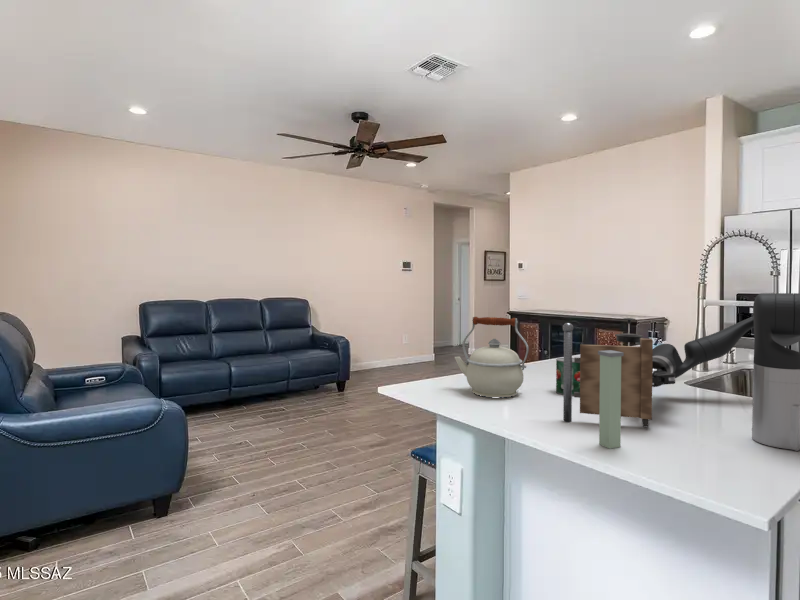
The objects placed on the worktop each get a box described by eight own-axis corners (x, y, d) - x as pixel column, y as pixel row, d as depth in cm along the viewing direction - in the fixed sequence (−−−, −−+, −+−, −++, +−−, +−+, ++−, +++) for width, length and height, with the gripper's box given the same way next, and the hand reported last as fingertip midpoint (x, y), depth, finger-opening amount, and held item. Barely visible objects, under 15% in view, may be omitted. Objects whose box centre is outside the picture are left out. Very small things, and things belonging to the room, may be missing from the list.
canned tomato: (552, 390, 152) (553, 357, 151) (576, 390, 151) (576, 357, 151) (560, 396, 144) (560, 361, 143) (585, 396, 143) (585, 361, 143)
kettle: (535, 391, 150) (535, 316, 149) (519, 404, 135) (519, 320, 134) (464, 383, 163) (464, 314, 162) (443, 394, 147) (442, 317, 146)
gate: (574, 421, 116) (574, 337, 115) (573, 418, 118) (574, 336, 118) (651, 428, 110) (652, 339, 109) (649, 425, 112) (650, 338, 112)
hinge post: (575, 421, 117) (575, 322, 116) (567, 422, 116) (568, 323, 115) (567, 418, 120) (567, 322, 119) (560, 420, 118) (560, 322, 117)
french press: (606, 379, 167) (607, 317, 167) (627, 377, 170) (627, 316, 170) (632, 386, 156) (633, 319, 155) (653, 384, 159) (654, 319, 158)
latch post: (597, 443, 101) (597, 350, 100) (610, 441, 102) (611, 350, 101) (609, 449, 97) (610, 353, 97) (622, 447, 99) (623, 352, 98)
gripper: (683, 386, 122) (670, 401, 109) (630, 381, 131) (612, 393, 118) (683, 359, 122) (670, 370, 109) (629, 355, 130) (611, 365, 117)
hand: (639, 382), depth 113 cm, fingers closed
